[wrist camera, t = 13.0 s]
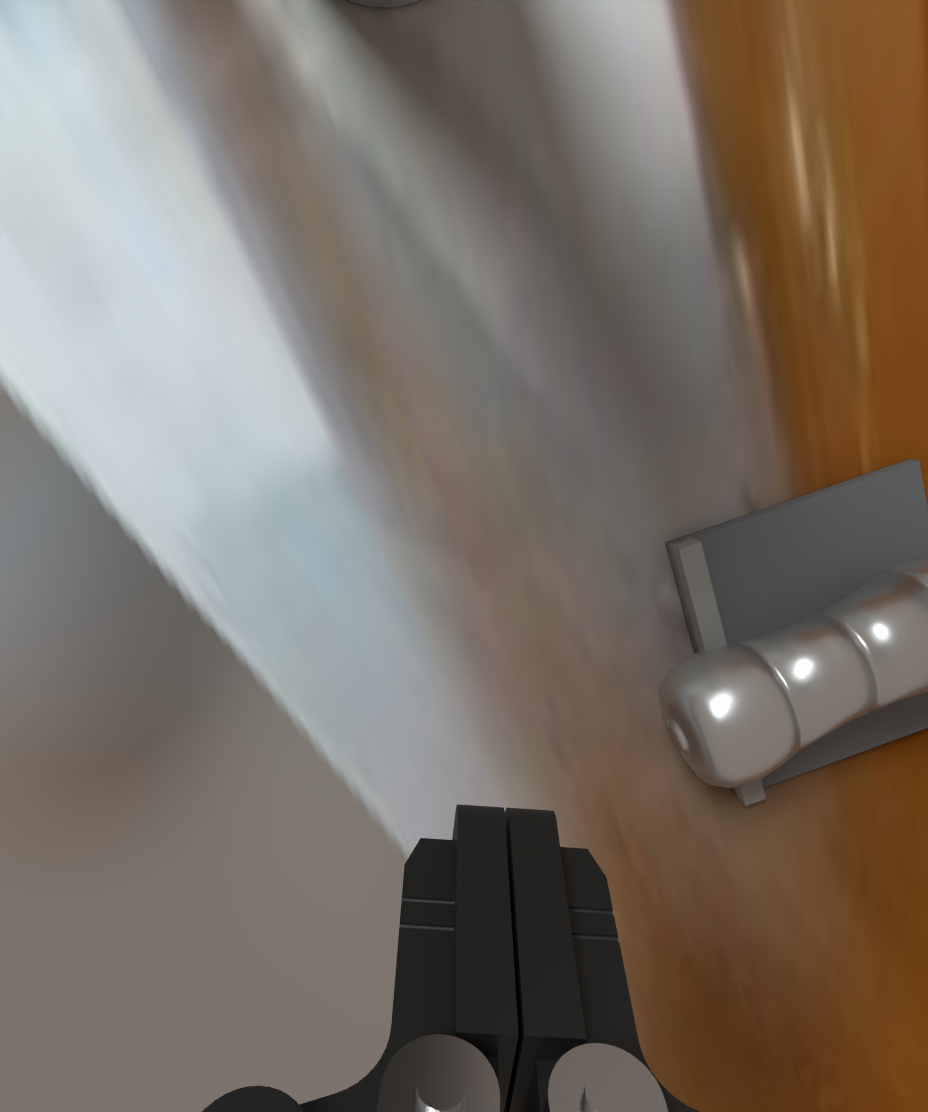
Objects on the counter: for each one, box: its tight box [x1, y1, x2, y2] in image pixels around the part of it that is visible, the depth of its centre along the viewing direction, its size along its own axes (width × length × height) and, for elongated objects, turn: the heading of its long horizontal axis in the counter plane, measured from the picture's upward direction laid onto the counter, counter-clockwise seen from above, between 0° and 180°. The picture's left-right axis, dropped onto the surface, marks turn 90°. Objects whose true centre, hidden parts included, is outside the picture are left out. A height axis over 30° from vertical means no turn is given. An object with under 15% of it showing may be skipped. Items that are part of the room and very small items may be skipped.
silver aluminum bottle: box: [659, 559, 928, 788], centre depth 40 cm, size 6×7×20 cm
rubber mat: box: [666, 459, 928, 806], centre depth 44 cm, size 15×14×2 cm
